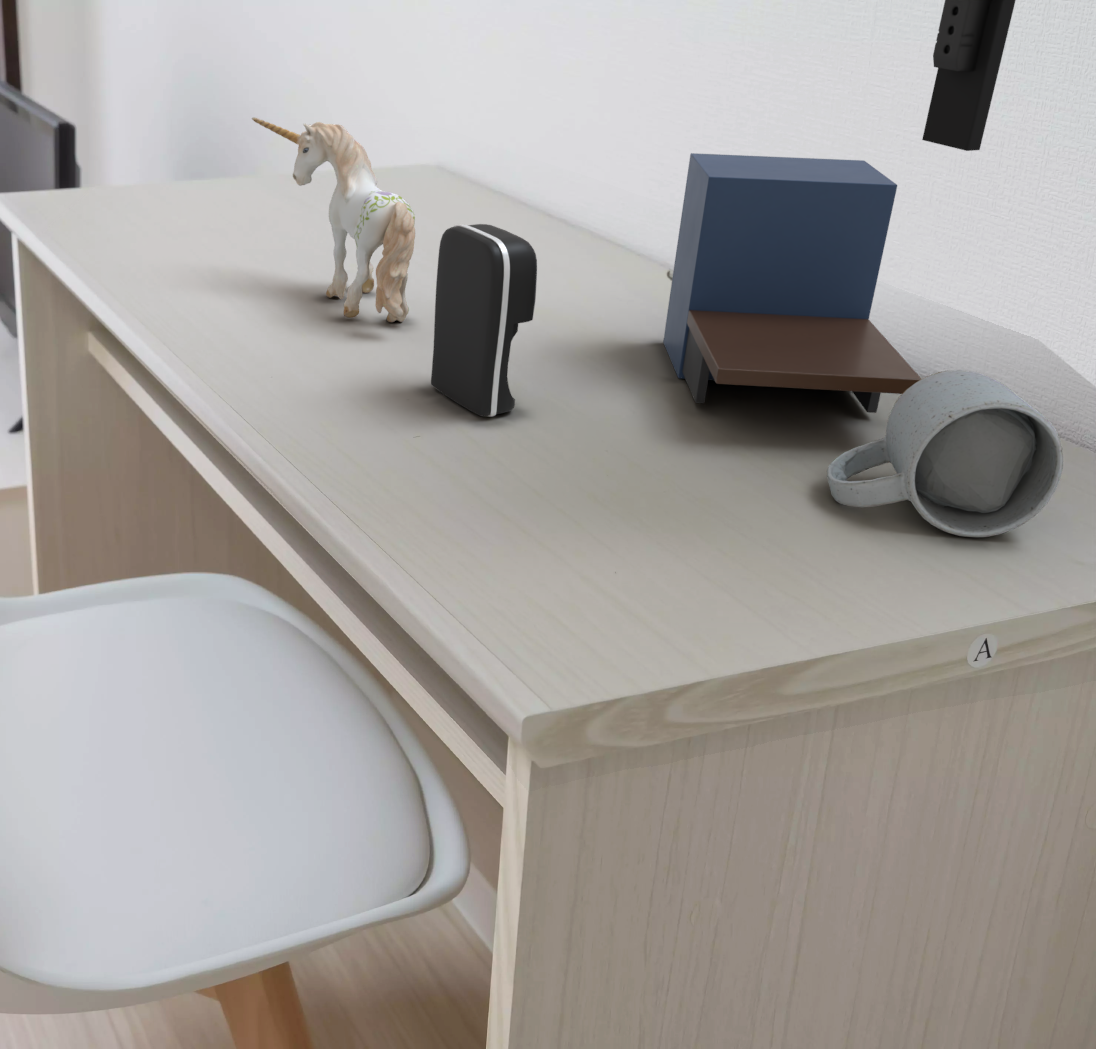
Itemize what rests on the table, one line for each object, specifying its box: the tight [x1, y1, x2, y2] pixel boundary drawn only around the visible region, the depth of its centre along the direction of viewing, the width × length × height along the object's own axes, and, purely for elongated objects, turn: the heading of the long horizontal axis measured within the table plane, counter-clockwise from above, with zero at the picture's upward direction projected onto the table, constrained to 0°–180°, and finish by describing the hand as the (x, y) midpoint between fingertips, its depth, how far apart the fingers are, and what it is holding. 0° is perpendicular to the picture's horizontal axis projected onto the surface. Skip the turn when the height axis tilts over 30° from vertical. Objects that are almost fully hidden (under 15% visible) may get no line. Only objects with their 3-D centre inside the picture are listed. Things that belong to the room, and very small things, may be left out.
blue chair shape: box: [662, 152, 922, 414], centre depth 89 cm, size 12×20×14 cm, turn 174°
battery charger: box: [430, 223, 538, 418], centre depth 87 cm, size 7×4×11 cm, turn 26°
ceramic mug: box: [826, 369, 1064, 538], centre depth 74 cm, size 11×8×8 cm
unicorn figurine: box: [251, 116, 416, 323], centre depth 105 cm, size 7×20×13 cm, turn 34°
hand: (1058, 139), depth 64 cm, fingers open, 13 cm apart
